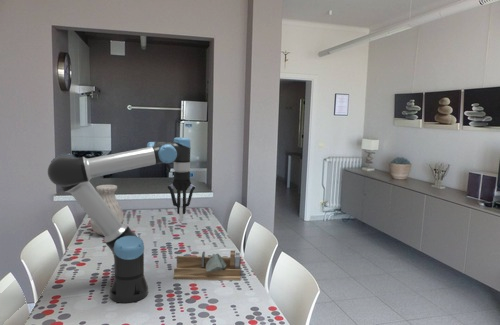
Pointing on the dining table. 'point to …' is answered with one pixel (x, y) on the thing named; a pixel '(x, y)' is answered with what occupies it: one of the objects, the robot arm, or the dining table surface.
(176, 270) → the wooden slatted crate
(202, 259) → the bookend
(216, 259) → the stone
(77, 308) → the dining table surface
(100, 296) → the dining table surface
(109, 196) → the vase
